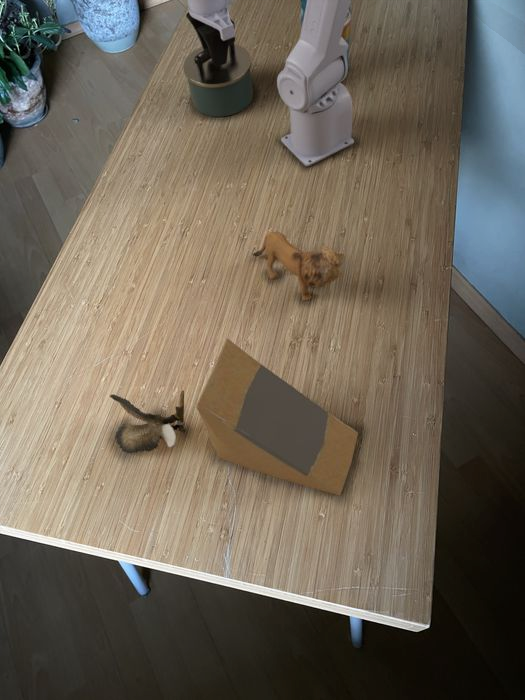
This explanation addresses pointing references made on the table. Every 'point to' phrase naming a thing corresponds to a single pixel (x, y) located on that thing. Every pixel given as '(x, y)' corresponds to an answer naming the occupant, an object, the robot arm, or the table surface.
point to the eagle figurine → (148, 428)
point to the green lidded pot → (220, 81)
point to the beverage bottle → (345, 30)
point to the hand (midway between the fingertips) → (216, 59)
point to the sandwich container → (273, 425)
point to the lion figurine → (302, 262)
